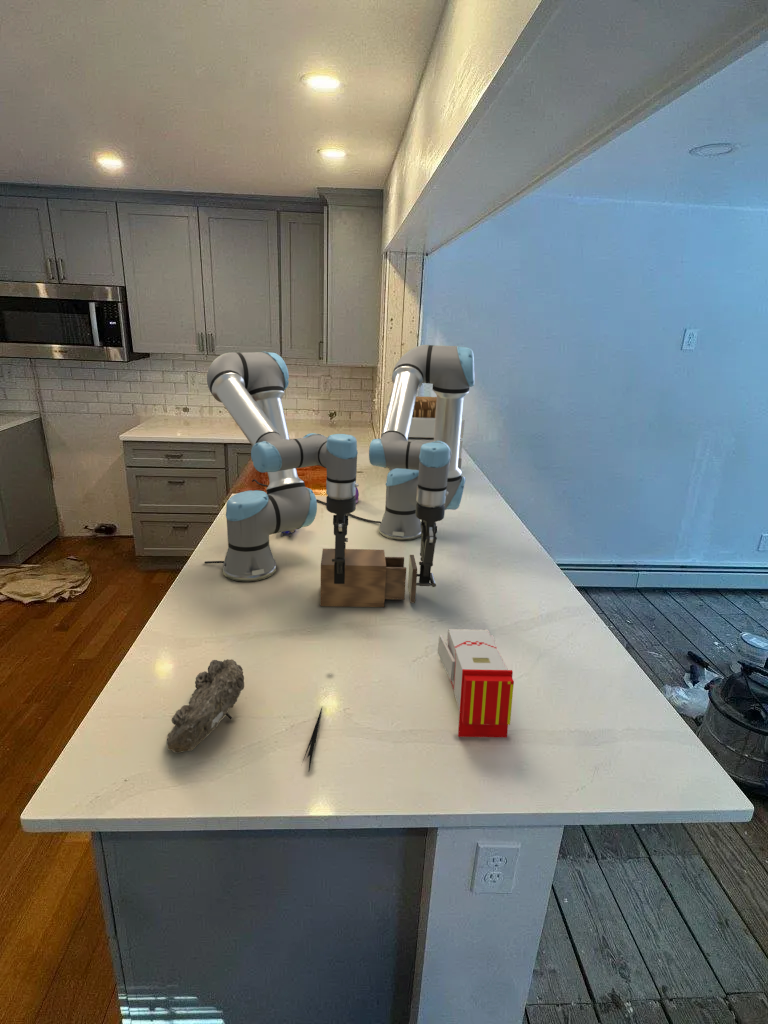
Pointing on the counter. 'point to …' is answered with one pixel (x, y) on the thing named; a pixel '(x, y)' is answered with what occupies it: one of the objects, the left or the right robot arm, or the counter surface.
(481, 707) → the toy
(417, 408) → the grey box
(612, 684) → the counter surface
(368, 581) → the cabinet
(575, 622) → the counter surface
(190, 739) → the fossil
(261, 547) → the left robot arm
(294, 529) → the figurine character
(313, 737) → the feather
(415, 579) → the drawer
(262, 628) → the counter surface
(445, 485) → the right robot arm
